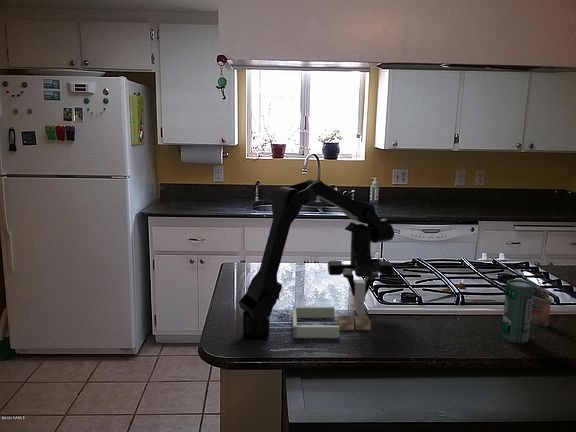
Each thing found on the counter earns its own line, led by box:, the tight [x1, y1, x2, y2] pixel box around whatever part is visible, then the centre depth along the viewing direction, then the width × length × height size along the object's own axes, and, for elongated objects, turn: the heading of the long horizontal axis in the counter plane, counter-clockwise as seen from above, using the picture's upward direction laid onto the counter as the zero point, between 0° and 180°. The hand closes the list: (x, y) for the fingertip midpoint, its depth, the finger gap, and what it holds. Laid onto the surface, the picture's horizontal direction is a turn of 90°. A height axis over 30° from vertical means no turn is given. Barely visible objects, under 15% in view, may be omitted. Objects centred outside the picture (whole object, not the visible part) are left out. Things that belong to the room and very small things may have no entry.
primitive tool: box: [441, 282, 467, 292], centre depth 153 cm, size 19×6×4 cm, turn 117°
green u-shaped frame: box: [292, 306, 340, 339], centre depth 129 cm, size 12×14×3 cm
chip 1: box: [336, 315, 355, 331], centre depth 129 cm, size 4×4×2 cm
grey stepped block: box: [352, 279, 366, 316], centre depth 140 cm, size 3×9×9 cm, turn 0°
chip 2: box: [352, 315, 372, 331], centre depth 129 cm, size 4×4×2 cm
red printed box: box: [530, 285, 552, 327], centre depth 133 cm, size 8×3×10 cm, turn 23°
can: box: [501, 278, 535, 344], centre depth 121 cm, size 6×6×15 cm
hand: (359, 295), depth 140 cm, fingers closed on grey stepped block, 3 cm apart
